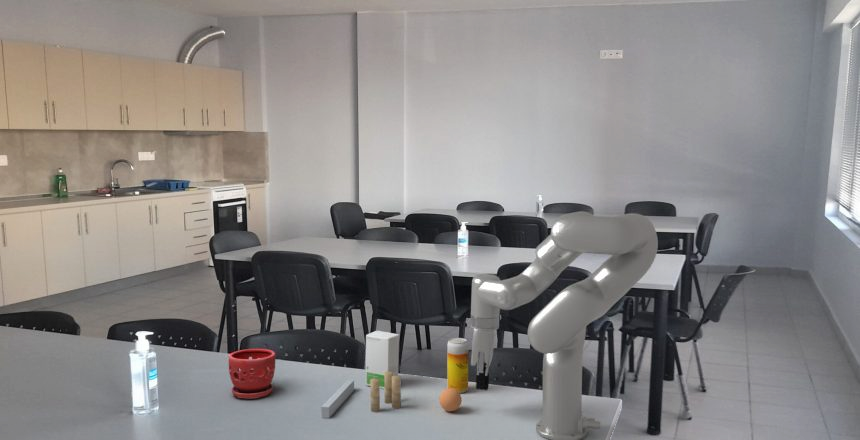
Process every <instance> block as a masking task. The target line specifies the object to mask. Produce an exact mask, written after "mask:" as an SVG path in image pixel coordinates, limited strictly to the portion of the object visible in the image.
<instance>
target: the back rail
mask: <svg viewBox="0 0 860 440" xmlns="http://www.w3.org/2000/svg"><path fill="white" fill-rule="evenodd" d="M354 391H355V379H347V380H345V382H344V383H343V384H342V385H341V386H340V387H339V388H338V389H337V390H336V391H335V392H334V393H333V394H331V396H330V398H329V397H328V399H327V400H326V401H325V402H324V403H323V404H322V405H321V418H322V419H330V418H331V417H332V416H333V414H334V413H335V412H336V411H337V410H338V409H339V407H340V406H341V405H342V404H343V403H344V402H345V401H346V400H347V399H348V397H350V395H351V394H352V393H353V392H354Z"/></svg>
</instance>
